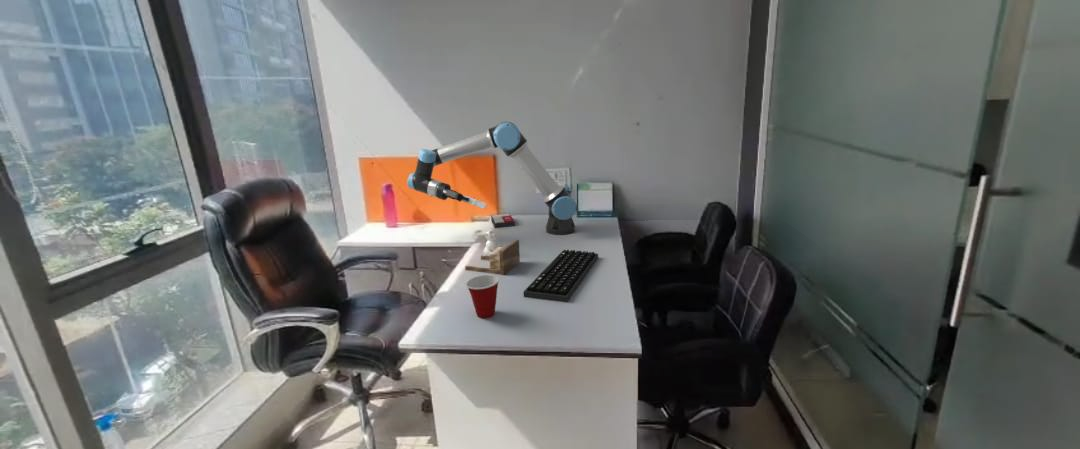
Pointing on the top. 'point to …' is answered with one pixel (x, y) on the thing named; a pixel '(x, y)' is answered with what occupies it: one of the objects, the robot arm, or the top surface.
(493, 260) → the offcut stack
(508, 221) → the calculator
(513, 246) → the walnut rack
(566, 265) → the computer keyboard
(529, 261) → the top surface
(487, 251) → the white creature statuette
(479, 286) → the plastic cup
